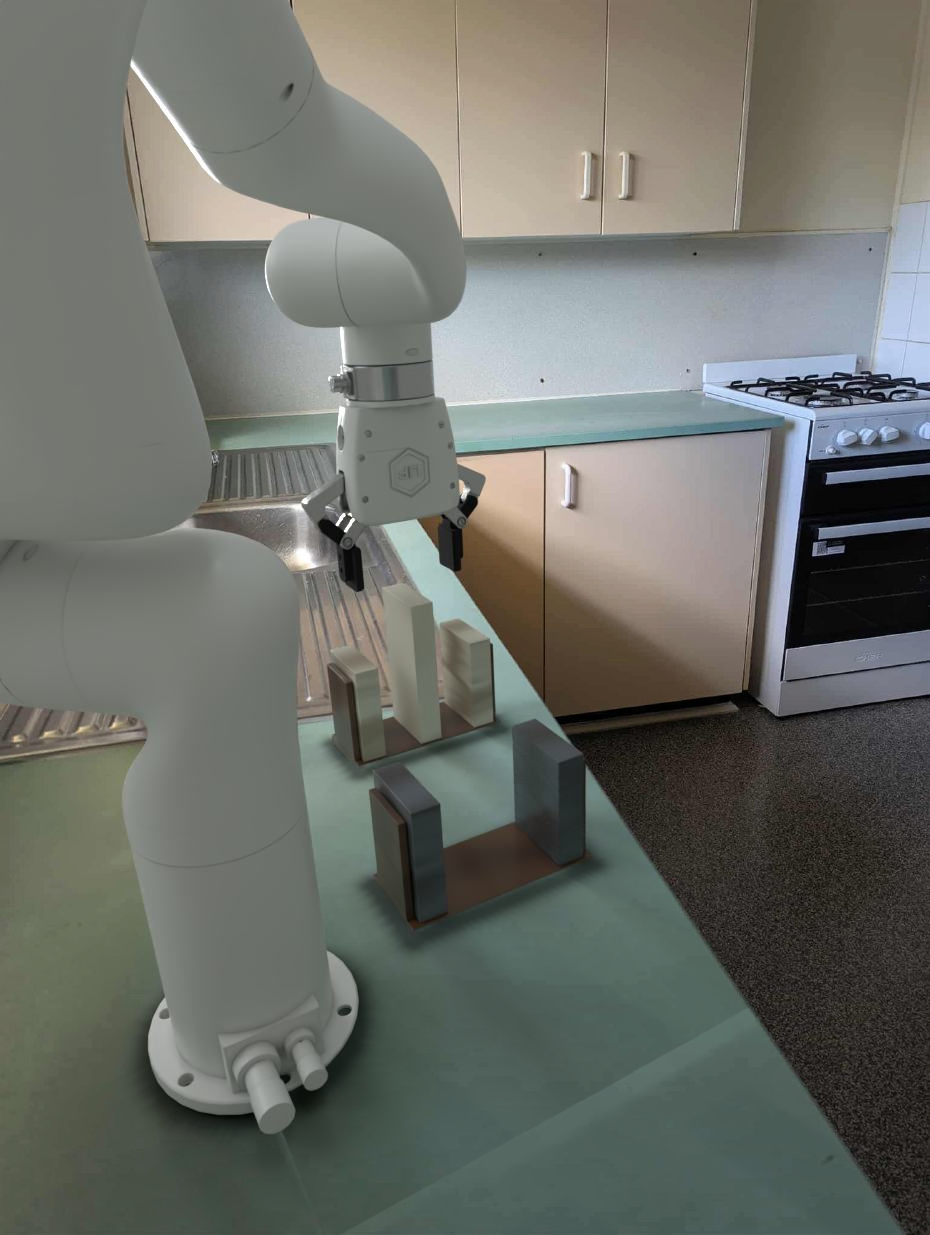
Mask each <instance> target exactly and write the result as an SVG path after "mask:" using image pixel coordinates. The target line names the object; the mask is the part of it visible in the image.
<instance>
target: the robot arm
mask: <svg viewBox="0 0 930 1235" xmlns="http://www.w3.org/2000/svg"><path fill="white" fill-rule="evenodd" d="M130 69H132V71H133V72H134V73H135V74H136V75H137V77H138V79H140V81H141V82H142V83H143V85H144V87H145V88H146V90H148V92H149V93H150V95H151V96H152V97H153V99H154V100H155V102H156V103H157V105H158V106H159V108H160V109H161V110H162V112H163V113H164V114H165V116H166V117H167V118H168V120H169V121H170V123H171V124H172V125H173V127H174V129H175V130H176V132H177V133H178V135H180V137H181V138H182V140H183V142H185V145H187V147H188V148H189V150H190V151H191V152H192V154H193V155H194V157H195V159H196V160H197V161H198V163H199V164H200V166H201V167H202V168H203V170H204V171H205V172H206V173H207V174H208V175H209V176H210V177H211V178H212V179H213V180H214V181H215V182H217V183H219V184H220V185H221V186H223V187H225V188H226V189H228V190H231V191H233V192H235V193H237V194H240V195H243V196H245V197H248V198H250V199H254V200H257V201H259V202H263V203H267V204H269V205H272V206H276V207H279V208H281V209H282V208H283V209H286V210H291V211H295V212H299V213H303V214H308V215H311V216H312V215H313V216H315V218H306V219H302V220H301V219H300V220H297V221H294V222H291V223H289V224H288V225H286V226H284V227H282V229H280V230H279V231H278V232H277V233H276V234H275V236H274V237H273V239H272V240H271V242H270V244H269V246H268V248H267V251H266V255H265V261H264V277H265V282H266V286H267V290H268V292H269V295H270V298H271V299H272V301H273V303H274V305H275V306H276V308H277V309H278V310H279V311H280V312H281V314H283V315H284V316H285V317H286V318H288V319H290V321H292V322H294V323H296V324H298V325H301V326H304V327H309V328H315V329H316V328H317V329H322V328H323V329H330V328H331V329H335V328H339V331H340V344H341V354H342V355H341V356H342V363H343V365H341V366H340V373H338V374H337V375H330V376H329V377H328V388H329V390H330V392H331V393H332V394H335V393H339V394H342V395H343V398H345V400H346V401H345V402H346V403H342V404H340V405H339V410H338V419H337V430H336V444H335V445H336V446H335V464H336V466H335V467H336V468H335V469H336V470H335V471H336V475H335V476H333V477H332V478H330V479H329V480H328V481H326V482H325V483H324V484H322V485H321V486H320V487H318V488H317V489H315V490H314V491H313V492H311V493H310V494H309V495H307V496H306V497H305V498H303V499H302V500H301V503H300V504H301V508H302V509H303V511H304V512H305V514H306V515H307V517H308V519H309V520H310V521H311V522H312V524H313V525H314V528H315V529H316V530H318V531H319V532H320V533H321V534H323V536H325V537H326V538H328V539H329V540H331V542H333V543H334V544H335V546H336V547H335V548H336V557H337V566H338V567H337V568H338V575H339V578H340V580H341V581H342V582H343V583H344V584H345V585H346V586H347V587H348V588H350V589H351V590H352V591H354V592H355V593H360V592H363V590H365V579H364V577H365V576H364V568H363V567H364V566H363V555H362V554H363V553H362V549H361V548H360V547H359V546H357V544H356V543H357V540H358V539H359V537H360V536H361V534H362V533H363V531H364V530H365V528H366V527H367V526H368V527H376V526H383V525H384V526H385V525H390V524H397V523H403V522H408V521H413V520H419V519H425V518H431V517H436V516H438V517H439V518H441V522H439V523H438V526H437V540H438V541H437V543H438V544H437V545H438V559H439V560H438V561H439V565H441V566H443V567H445V568H446V569H449V570H450V571H452V572H454V573H457V572H460V571H461V570H462V559H463V558H464V538H463V529H464V528H466V527H467V525H468V519H469V517H470V516H471V515H472V514H473V512H474V511H475V509H477V506H478V504H479V498H480V497H481V494H482V491H483V489H484V487H485V484H486V480H487V478H486V475H485V474H483V473H481V472H479V471H476V470H473V469H471V468H469V467H467V466H464V465H462V464H459V463H458V460H457V451H456V444H455V439H454V433H453V429H452V424H451V420H450V415H449V412H448V408H447V404H446V401H445V400H446V399H445V397H439V396H436V393H435V392H436V391H435V390H436V389H435V375H434V374H435V372H434V358H433V357H434V356H433V339H432V324H433V323H438V322H441V321H442V320H445V319H448V318H449V317H450V316H451V315H452V314H453V313H454V312H456V311H457V309H458V307H459V306H460V305H461V302H462V300H463V297H464V294H465V291H466V285H467V259H466V253H465V252H466V251H465V248H464V243H463V238H462V234H461V231H460V227H459V224H458V221H457V217H456V214H455V212H454V209H453V206H452V204H451V201H450V198H449V195H448V192H447V189H446V186H445V184H444V182H443V179H442V177H441V175H440V172H439V171H438V169H437V167H436V165H435V164H434V163H433V161H432V160H431V159H430V157H429V156H428V154H426V153H425V151H423V149H422V148H421V147H420V146H419V145H418V144H417V143H416V142H415V141H413V140H412V139H411V138H409V137H408V136H407V135H406V134H405V133H404V132H402V131H401V130H400V129H399V128H397V127H396V126H395V125H393V124H392V123H390V122H389V121H388V120H386V118H384V117H382V116H381V115H380V114H378V113H377V112H376V111H375V110H372V109H371V108H370V107H368V106H366V105H365V104H364V103H362V102H361V101H359V100H357V99H356V98H354V97H352V96H351V95H349V94H347V93H345V92H344V91H341V90H340V89H338V88H337V87H335V86H333V85H331V84H330V83H328V82H327V81H326V80H325V78H324V77H323V75H322V72H321V70H320V67H319V66H318V63H317V61H316V59H315V57H314V54H313V52H312V49H311V48H310V45H309V43H308V41H307V39H306V37H305V34H304V32H303V30H302V27H301V26H300V23H299V21H298V19H297V17H296V14H295V13H294V10H293V8H292V6H291V4H290V2H289V0H0V703H4V704H7V705H12V706H16V707H23V708H32V709H39V710H52V711H66V712H78V713H79V712H81V713H93V714H106V715H109V716H115V717H117V716H118V717H125V718H133V719H135V720H138V721H140V722H141V723H142V724H143V725H144V726H145V728H146V732H147V733H146V740H145V743H144V745H143V747H141V749H140V751H139V752H138V753H137V755H136V757H135V758H134V760H133V761H132V763H131V765H130V767H129V769H128V771H127V772H126V774H125V775H126V776H125V778H124V782H123V786H122V792H121V793H122V794H121V808H122V816H123V822H124V827H125V830H126V835H127V839H128V840H127V841H128V842H129V845H130V850H131V854H132V859H133V863H134V867H135V871H136V876H137V880H138V884H139V889H140V893H141V898H142V902H143V907H144V911H145V916H146V920H147V924H148V925H147V926H148V928H149V933H150V938H151V942H152V946H153V950H154V955H155V959H156V964H157V968H158V972H159V976H160V981H161V986H162V990H163V993H164V998H163V999H162V1000H161V1002H160V1003H159V1005H158V1007H157V1008H156V1011H155V1012H154V1015H153V1016H152V1019H151V1023H150V1027H149V1029H148V1030H149V1031H148V1036H147V1052H148V1056H149V1057H148V1058H149V1061H150V1062H149V1063H150V1067H151V1070H152V1072H153V1075H154V1077H155V1079H156V1081H157V1084H158V1085H159V1086H160V1087H161V1088H162V1090H163V1091H164V1092H165V1094H167V1096H168V1097H170V1098H171V1099H173V1100H175V1102H177V1103H179V1104H181V1106H184V1107H186V1108H189V1109H192V1110H194V1111H195V1112H200V1113H206V1114H212V1115H216V1116H229V1115H230V1116H235V1115H236V1116H237V1115H238V1116H241V1115H245V1114H251V1113H253V1114H254V1117H255V1119H256V1122H257V1125H258V1128H259V1130H260V1132H262V1133H263V1134H265V1135H276V1134H278V1133H280V1132H283V1131H284V1130H285V1129H286V1128H287V1127H289V1126H290V1125H291V1124H292V1122H293V1120H294V1119H295V1117H296V1116H295V1115H296V1107H295V1105H294V1103H293V1101H292V1099H291V1098H292V1097H291V1096H290V1093H289V1092H291V1091H293V1090H295V1089H297V1088H299V1087H300V1086H302V1085H303V1087H304V1088H305V1090H307V1091H310V1092H313V1091H315V1090H318V1089H320V1088H321V1087H323V1086H324V1085H325V1084H326V1082H327V1081H328V1078H329V1072H328V1071H327V1069H326V1067H327V1066H329V1065H330V1063H332V1061H333V1060H335V1058H336V1057H337V1056H338V1055H339V1053H340V1052H341V1051H342V1050H343V1048H344V1047H345V1045H346V1043H347V1041H348V1040H349V1038H350V1036H351V1035H352V1033H353V1030H354V1027H355V1025H356V1022H357V1019H358V1013H359V1004H360V1001H359V1000H360V999H359V991H358V985H357V982H356V980H355V978H354V975H353V973H352V972H351V971H350V969H349V968H348V966H347V965H346V964H345V962H344V961H343V960H342V959H340V958H339V957H337V955H336V954H334V953H333V952H331V951H329V950H327V949H328V948H327V942H326V934H325V926H324V921H323V920H324V919H323V914H322V906H321V897H320V891H319V882H318V876H317V869H316V860H315V854H314V847H313V846H314V845H313V840H312V831H311V824H310V816H309V809H308V803H307V796H306V789H305V782H304V775H303V767H302V766H303V765H302V758H301V748H300V747H301V746H300V739H299V725H298V724H299V723H298V674H299V671H298V670H299V655H300V641H301V640H300V639H301V605H300V604H301V603H300V596H299V591H298V587H297V583H296V580H295V578H294V576H293V573H292V571H290V568H289V567H288V566H287V564H286V563H285V562H284V560H283V559H282V558H281V557H280V556H279V555H278V554H277V553H276V552H275V551H274V550H272V549H271V548H269V547H268V546H266V545H264V544H263V543H261V542H259V541H257V540H254V539H252V538H249V537H247V536H244V535H241V534H237V533H234V532H228V531H225V530H224V531H223V530H219V529H209V528H201V527H200V528H199V527H178V526H179V525H182V524H184V523H185V522H186V521H187V520H189V519H190V518H191V517H193V516H194V514H196V512H197V511H198V510H199V509H200V507H201V506H202V504H203V503H204V501H205V499H206V498H207V496H208V493H209V491H210V487H211V484H212V473H213V472H212V470H213V453H212V446H211V439H210V436H209V432H208V428H207V424H206V421H205V416H204V413H203V409H202V406H201V402H200V400H199V397H198V396H199V395H198V393H197V390H196V387H195V384H194V381H193V379H192V378H193V377H192V376H191V373H190V370H189V367H188V364H187V361H186V358H185V354H184V352H183V349H182V346H181V343H180V340H179V337H178V335H177V334H178V333H177V331H176V328H175V325H174V323H173V322H174V321H173V319H172V317H171V314H170V310H169V308H168V305H167V302H166V299H165V296H164V293H163V290H162V288H161V284H160V282H159V279H158V278H159V277H158V275H157V273H156V270H155V267H154V265H153V262H152V258H151V255H150V252H149V249H148V246H147V244H146V240H145V237H144V234H143V231H142V228H141V225H140V222H139V218H138V215H137V211H136V208H135V203H134V200H133V197H132V192H131V189H130V184H129V181H128V171H127V166H126V164H127V163H126V157H125V149H124V148H125V147H124V130H125V129H124V126H125V123H124V120H125V104H126V97H127V90H128V83H129V75H130ZM316 216H317V217H316ZM460 481H462V482H463V484H464V486H463V489H462V490H463V491H462V493H461V492H460ZM335 500H337V501H338V505H339V510H340V512H341V513H342V514H341V516H340V517H339V519H338V520H337V522H336V524H335V523H334V522H333V521H332V520H331V519H330V518H329V516H328V514H327V513H326V507H327V506H328V505H329V504H331V503H332V502H334V501H335ZM345 1008H347V1009H349V1010H351V1011H350V1012H349V1013H348V1014H347V1015H340V1014H339V1012H340V1010H342V1009H345ZM281 1076H288V1077H289V1078H290V1079H289V1081H288V1082H287V1083H285V1082H284V1080H283V1079H282V1078H281Z"/></svg>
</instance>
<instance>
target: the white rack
mask: <svg viewBox="0 0 930 1235" xmlns="http://www.w3.org/2000/svg"><path fill="white" fill-rule="evenodd" d="M439 637H440V638H439V640H440V653H441V670H442V684H443V685H442V686H443V700H444V701H442V702H439V706H440V721H441V736H442V738H439V739H436V740H433V741H429V742H426V743H423V744H421V743H420V742H419V741H418V740H417V739H416V738H415V737H414V736H413V735H412V734H411V733H410V732H409V731H407V730H406V729H405V728H404V727H403V726H402V725H401V724H400V723H399V722H398V721H397V720H396V719H395V718H394V715H392V716H390V717H386V718H383V709H382V708H383V707H382V698H381V686H380V685H381V684H380V675H379V668H378V667H377V666H376V665H375V664H374V663H373V662H372V661H371V660H369V659H368V658H367V657H366V656H365V655H364V654H363V653H361V651H359V650H358V649H357V648H356V647H355V646H354V645H352V644H349V645H344V646H341V647H336V648H332V649H329V654H330V662H329V663H327V664H326V670H327V677H328V686H329V696H330V703H331V713H332V719H333V721H332V722H333V729H334V733H332V734H331V738H332V744H333V745H334V746H335V748H337V749H338V751H339V752H340V753H341V754H342V756H343V757H344V758H345V759H346V761H347V762H348V761H352V760H353V761H354V763H355V764H356V765H357V766H358V767H361V766H365V765H367V764H371V763H374V762H377V761H380V760H383V759H386V758H390V757H393V756H396V755H400V754H402V753H406V752H409V751H412V750H416V749H418V748H422V747H424V746H428V745H432V744H434V743H438V742H441V741H444V740H448V739H450V738H451V739H452V738H453V737H457V736H460V735H463V734H464V735H465V734H466V733H470V732H473V731H476V730H479V729H483V728H485V727H488V726H493V725H495V724H498V723H501V720H500V719H498V717H497V713H496V712H497V711H496V709H497V708H496V686H495V660H494V644H493V643H492V642H491V638H490V637H488V636H486V635H485V634H483V633H482V632H481V631H479V630H478V629H476V628H474V627H473V626H471V625H470V624H468V623H466V622H465V621H463V619H461V618H457V617H456V618H454V619H449V620H446V621H442V622H439Z"/></svg>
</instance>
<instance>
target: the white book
mask: <svg viewBox="0 0 930 1235" xmlns="http://www.w3.org/2000/svg"><path fill="white" fill-rule="evenodd" d="M381 589H382V590H381V591H382V602H383V613H384V623H385V633H386V644H387V657H388V658H387V659H388V667H389V679H390V689H391V690H390V691H391V701H392V713H393V716H394V718H395V719H396V720H397V721H398V722H399V723H400V724H401V725H402V726H403V727H404V728H405V729H406V730H407V731H409V732H410V733H411V734H412V735H413V736H414V737H415V738H416V739H417V740H418V741H419V742H420V743H421V744H423V743H426V742H429V741H433V740H436V739H439V738H442V736H441V721H440V706H439V703H440V696H439V695H440V694H439V693H440V691H439V677H438V676H439V675H438V663H437V650H436V648H437V647H436V635H435V633H436V632H435V617H434V616H435V615H434V603H433V601H432V600H430V599H429V598H428V597H426V596H424V595H422V594H421V593H419V592H418V591H417V590H416V589H413V588H411V587H410V586H408V584H406V583H404V582H401V583H396V584H391V585H387V586H383V587H382V588H381Z"/></svg>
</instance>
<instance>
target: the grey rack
mask: <svg viewBox="0 0 930 1235" xmlns="http://www.w3.org/2000/svg"><path fill="white" fill-rule="evenodd" d="M511 733H512V734H511V737H512V738H511V739H512V740H511V741H512V771H513V773H512V774H513V795H514V796H513V802H514V821H513V822H510V823H508V824H505V825H502V826H500V827H497V828H494V829H492V830H488V831H486V832H484V833H483V832H482V833H481V834H478V835H475V836H472V837H470V838H467V839H464V840H462V841H459V842H457V843H454V844H451V845H449V846H446V847H444V837H443V822H442V809H441V808H442V807H441V803H440V802H439V801H438V800H437V798H435V796H433V794H432V793H431V792H429V790H428V789H427V788H426V786H425V785H423V784H422V782H420V781H419V779H418V778H417V777H416V776H414V774H413V773H412V772H411V771H410V770H409V769H408V768H407V767H406V766H405V765H404V764H403V763H402V762H401V761H398V762H395V763H394V762H393V763H391V764H388V765H385V766H383V767H382V766H381V767H379V768H375V769H373V770H372V776H373V785H374V786H373V788H370V789H368V798H369V806H370V817H371V825H372V833H373V834H372V836H373V843H374V844H373V846H374V854H375V863H376V865H375V866H376V873H374V874H373V875H372V876H373V877H374V879H375V880H376V882H377V883H378V884H379V886H380V887H381V888H382V890H383V891H384V893H385V894H386V895H387V897H388V898H389V900H390V902H391V903H392V904H393V906H394V907H395V908H396V910H397V911H398V912H399V914H400V915H401V917H402V918H403V919H404V921H405V922H406V923H407V925H408V926H409V928H410V929H411V931H412V932H415V931H416V930H419V929H421V928H424V927H426V926H428V925H431V924H434V923H436V922H438V921H439V922H440V921H441V920H443V919H446V918H447V917H450V916H453V915H456V914H457V913H458V914H459V913H460V912H463V911H465V910H468V909H469V908H472V907H475V906H477V905H479V904H483V903H485V902H487V901H490V900H491V899H495V898H497V897H499V896H501V895H504V894H506V893H510V892H512V891H513V890H516V889H519V888H521V887H523V886H526V885H528V884H531V883H533V882H536V881H537V880H540V879H542V878H545V877H547V876H550V875H552V874H554V873H557V872H560V871H562V870H564V869H567V868H569V867H572V866H575V865H576V864H579V863H582V862H584V861H587V860H590V859H591V858H593V857H594V855H593V854H592V853H591V852H589V851H588V850H587V848H586V844H587V843H586V842H587V841H586V838H587V837H586V836H587V835H586V834H587V833H586V832H587V831H586V823H587V822H586V821H587V820H586V819H587V818H586V817H587V816H586V815H587V814H586V813H587V812H586V810H587V808H586V807H587V798H586V797H587V788H586V787H587V778H586V777H587V773H586V772H587V758H586V757H585V756H584V755H585V754H584V753H583V752H582V751H581V750H579V749H577V748H576V747H575V746H574V745H572V744H571V743H569V742H568V741H567V740H566V739H564V738H562V737H561V736H560V735H558V734H557V733H556V732H555V731H553V730H552V729H550V728H549V727H548V726H546V725H545V724H543V723H542V722H541V721H540V720H538V719H537V718H532V719H530V720H527V721H524V722H521V723H517V724H515V725H512V726H511Z"/></svg>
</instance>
